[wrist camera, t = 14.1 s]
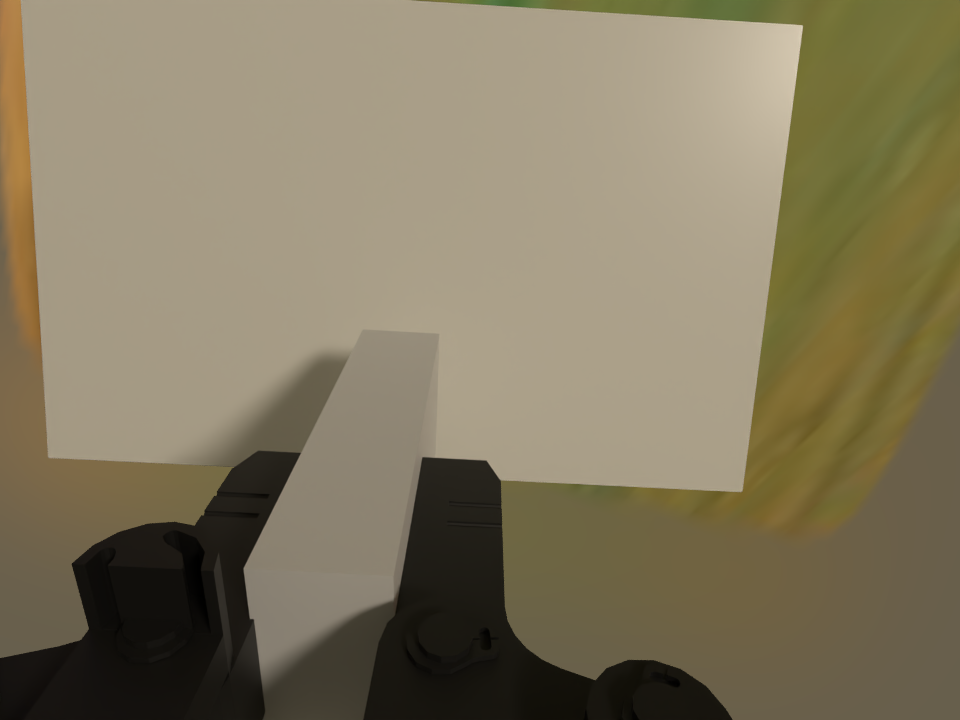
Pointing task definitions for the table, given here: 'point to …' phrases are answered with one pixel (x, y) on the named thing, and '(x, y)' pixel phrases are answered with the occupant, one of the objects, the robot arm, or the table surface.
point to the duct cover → (406, 226)
